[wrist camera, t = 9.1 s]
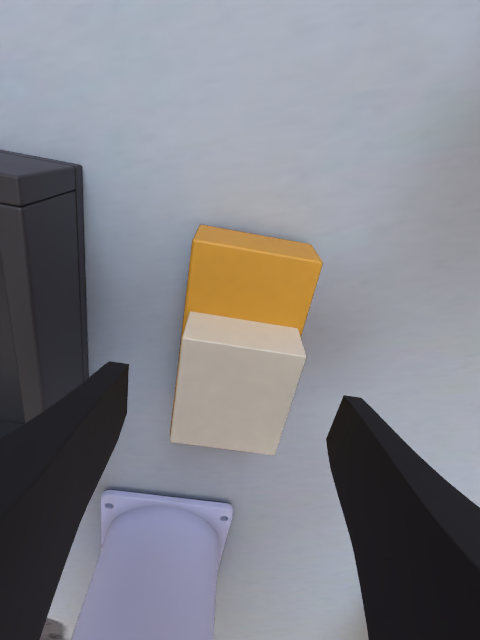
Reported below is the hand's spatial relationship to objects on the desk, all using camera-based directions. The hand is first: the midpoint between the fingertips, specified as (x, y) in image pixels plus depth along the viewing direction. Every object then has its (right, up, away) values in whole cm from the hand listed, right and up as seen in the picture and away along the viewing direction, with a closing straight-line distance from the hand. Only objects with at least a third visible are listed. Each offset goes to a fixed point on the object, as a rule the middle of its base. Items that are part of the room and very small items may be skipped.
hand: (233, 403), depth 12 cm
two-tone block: (0, +2, +4) cm, 5 cm away
